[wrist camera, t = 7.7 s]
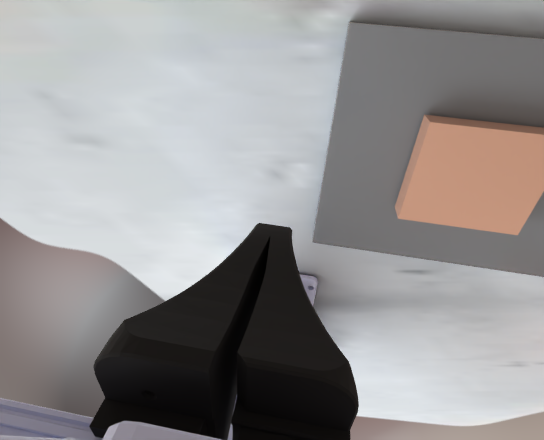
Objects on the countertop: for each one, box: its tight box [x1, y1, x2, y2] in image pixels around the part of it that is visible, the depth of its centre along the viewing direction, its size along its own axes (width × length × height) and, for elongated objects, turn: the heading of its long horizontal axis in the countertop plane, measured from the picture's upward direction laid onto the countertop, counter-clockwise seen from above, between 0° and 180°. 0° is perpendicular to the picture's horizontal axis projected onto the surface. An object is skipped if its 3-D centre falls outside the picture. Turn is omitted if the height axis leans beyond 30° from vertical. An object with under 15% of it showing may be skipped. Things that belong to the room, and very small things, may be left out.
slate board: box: [313, 22, 544, 277], centre depth 20 cm, size 14×18×1 cm
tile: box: [395, 115, 544, 235], centre depth 19 cm, size 6×2×7 cm
